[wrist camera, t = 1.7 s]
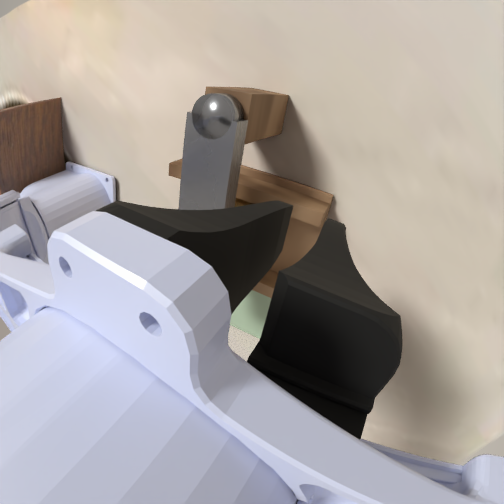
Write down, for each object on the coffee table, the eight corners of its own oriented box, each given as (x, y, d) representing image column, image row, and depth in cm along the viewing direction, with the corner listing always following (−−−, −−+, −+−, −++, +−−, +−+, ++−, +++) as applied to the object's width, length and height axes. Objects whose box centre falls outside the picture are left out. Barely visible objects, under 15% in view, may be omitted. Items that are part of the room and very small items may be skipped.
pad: (229, 319, 31) (226, 323, 30) (237, 272, 27) (234, 275, 27) (283, 344, 29) (281, 348, 28) (300, 299, 26) (298, 303, 25)
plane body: (182, 243, 29) (142, 272, 24) (197, 80, 21) (146, 81, 16) (301, 294, 25) (276, 339, 21) (355, 113, 17) (340, 115, 13)
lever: (185, 286, 22) (175, 295, 22) (203, 90, 15) (189, 90, 14) (220, 303, 22) (211, 313, 21) (252, 97, 14) (241, 98, 13)
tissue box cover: (62, 97, 28) (-9, 114, 20) (71, 205, 36) (11, 236, 28) (0, 109, 37) (-45, 124, 29) (7, 181, 44) (-34, 200, 36)
